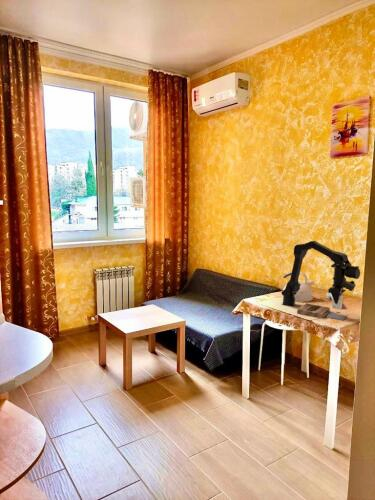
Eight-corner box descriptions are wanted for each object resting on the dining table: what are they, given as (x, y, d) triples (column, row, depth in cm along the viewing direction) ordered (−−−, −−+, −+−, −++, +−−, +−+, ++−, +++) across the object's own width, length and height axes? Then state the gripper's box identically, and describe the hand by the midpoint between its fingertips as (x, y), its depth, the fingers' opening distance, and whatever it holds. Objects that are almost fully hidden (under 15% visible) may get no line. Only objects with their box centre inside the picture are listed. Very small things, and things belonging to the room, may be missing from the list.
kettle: (316, 302, 233) (317, 275, 230) (283, 300, 236) (284, 274, 234) (310, 294, 253) (312, 269, 250) (280, 293, 256) (281, 268, 253)
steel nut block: (332, 308, 203) (333, 294, 201) (334, 306, 206) (335, 292, 205) (339, 309, 200) (340, 295, 199) (341, 307, 203) (342, 294, 202)
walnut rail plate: (297, 313, 209) (297, 309, 209) (306, 307, 222) (306, 303, 221) (321, 318, 201) (321, 314, 200) (329, 311, 213) (329, 307, 213)
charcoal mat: (326, 317, 203) (326, 316, 203) (330, 313, 210) (330, 312, 210) (342, 320, 197) (342, 319, 197) (346, 316, 205) (346, 315, 204)
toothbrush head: (336, 302, 220) (326, 287, 244) (335, 312, 222) (325, 296, 246) (345, 302, 220) (334, 287, 244) (343, 312, 222) (333, 296, 245)
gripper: (350, 280, 188) (348, 309, 190) (358, 275, 203) (356, 301, 205) (328, 277, 195) (326, 305, 197) (337, 272, 210) (336, 298, 212)
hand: (337, 302), depth 203 cm, fingers closed on steel nut block, 4 cm apart
